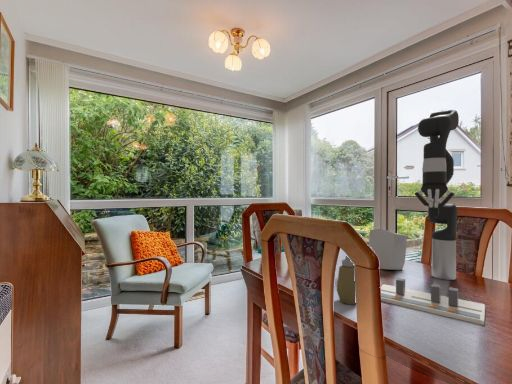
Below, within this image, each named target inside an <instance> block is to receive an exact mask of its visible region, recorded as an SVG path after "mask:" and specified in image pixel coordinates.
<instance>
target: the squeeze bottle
mask: <svg viewBox="0 0 512 384" xmlns="http://www.w3.org/2000/svg"><path fill="white" fill-rule="evenodd" d="M344 258H345V259H342V260H341V265H340V266H339V268H338V274H337V275H338V276H337V285H336V293H337V296H338V299H339V302H341V303H343V304H346V305H354V304H353V303H355V281H354V265H353V263H352V262H351V261H350V259H349V258H348V257H347V256H346V255H345V257H344Z"/></svg>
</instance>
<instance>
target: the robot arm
mask: <svg viewBox="0 0 512 384" xmlns="http://www.w3.org/2000/svg"><path fill="white" fill-rule="evenodd" d="M459 117H460V116H459V113H458V111H457V110H455V109H448V110H447V109H446V110H439V111H434V112H431V113H430V115H429V117H425V118H422V119H421V120H419V123H418V126H417V131H418V134H419V136H421V137H424V138H429V142H428V143H426V144H424V146H423V162H422V168H421V169H422V170H421V171H422V185H421V188H420V190H418V191H417V192H415V193H414V195H415V196H416V198H417V199H418V200H419V201H420V202H421V203H422V205H423V206H425V207H428V211H427V216H428V221H429V223H431V224H438V225H439V224H440V225H446V227H445V228H443V229H440V230H436V231H432V233H431V277H433V278H436V279H440V280H446V281H455V280H456V279H457V221H458V207H457V206H456V204H454V203H448V202H450V200H452V198H453V197H454V196H455V192H452V191H450V190H449V187H448V186H447V185H448V184H449V182H450V181H451V180H452V178H453V176H454V169H455V167H454V166H455V165H454V163H455V162H454V158H453V156H452V154H450V152H449V151H448V150H447V142H448V138H449V136H450V133H451V131H455V130H456V129H457V128H458V126H459V123H460V122H459ZM424 195H425V197H426V198H428V199H427V200H428V201H427V200H426V199H425V198H424V197H423V196H424ZM444 195H445V196H446V197H445V198H444V199H443V200H442V201H441V202H440V200H441V198H442V197H443V196H444Z"/></svg>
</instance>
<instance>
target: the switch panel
mask: <svg viewBox="0 0 512 384" xmlns="http://www.w3.org/2000/svg"><path fill="white" fill-rule="evenodd" d="M380 287H381V299H382V301H381V302H384V303H389V304H391V305H392V304H393V305H397V306H401V307H405V308H409V309H415V310H418V311H422V312H427V313H430V314H434V315H438V316H439V315H440V316H444V317H448V318H453V319H456V320H460V321H465V322H470V323H473V324H477V325H482V326H485V318H486V316H485V315H486V304H484V303H480V302H476V301H470V300H465V299H460V298H458V306H452V305H448V303H449V296H445V295H441V300H440V302H439V303H438V302H433V301H431V292H430V293H429V292H426V291H419V290H416V289H410V288H405V294H404V295H401V294H396V285H391V284H382V285H381V286H380Z"/></svg>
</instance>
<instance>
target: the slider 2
mask: <svg viewBox="0 0 512 384" xmlns="http://www.w3.org/2000/svg"><path fill="white" fill-rule="evenodd" d="M448 297H449V303H448V305H452V306H458V299H459V288H455V287H452V286H451V287H450V286H449V288H448Z"/></svg>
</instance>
